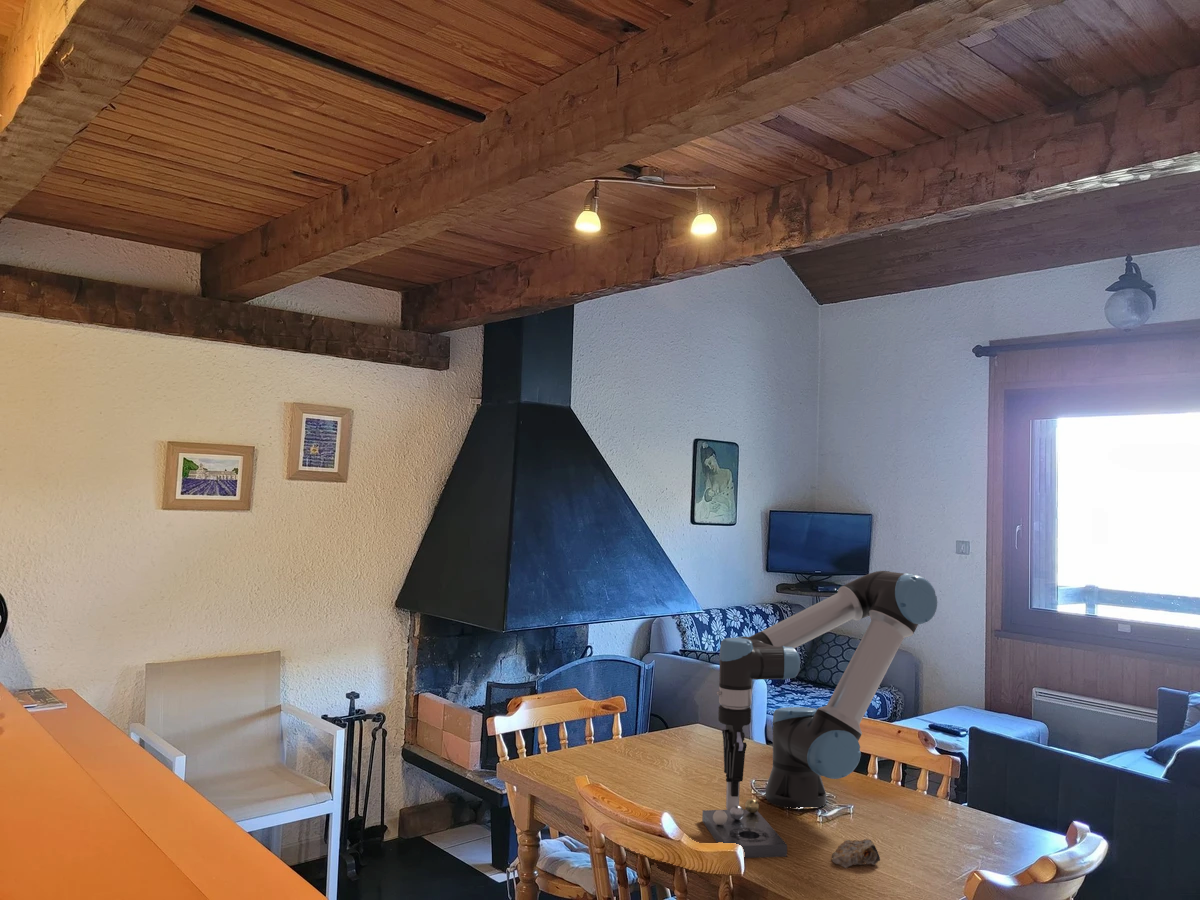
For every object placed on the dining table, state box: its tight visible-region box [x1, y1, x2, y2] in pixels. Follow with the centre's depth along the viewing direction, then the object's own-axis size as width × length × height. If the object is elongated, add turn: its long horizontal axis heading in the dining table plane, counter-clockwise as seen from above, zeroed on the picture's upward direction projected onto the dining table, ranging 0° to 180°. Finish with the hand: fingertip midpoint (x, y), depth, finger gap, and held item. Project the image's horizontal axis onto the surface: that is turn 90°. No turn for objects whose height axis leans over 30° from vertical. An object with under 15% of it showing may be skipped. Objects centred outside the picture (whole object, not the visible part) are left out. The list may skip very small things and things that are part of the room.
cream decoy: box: [713, 809, 727, 825], centre depth 200 cm, size 3×3×3 cm
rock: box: [831, 838, 881, 869], centre depth 187 cm, size 9×6×10 cm
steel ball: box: [730, 804, 744, 820], centre depth 203 cm, size 3×3×3 cm
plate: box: [701, 808, 788, 859], centre depth 198 cm, size 22×13×2 cm, turn 7°
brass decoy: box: [744, 798, 760, 813], centre depth 208 cm, size 3×3×3 cm
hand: (732, 808), depth 205 cm, fingers closed
